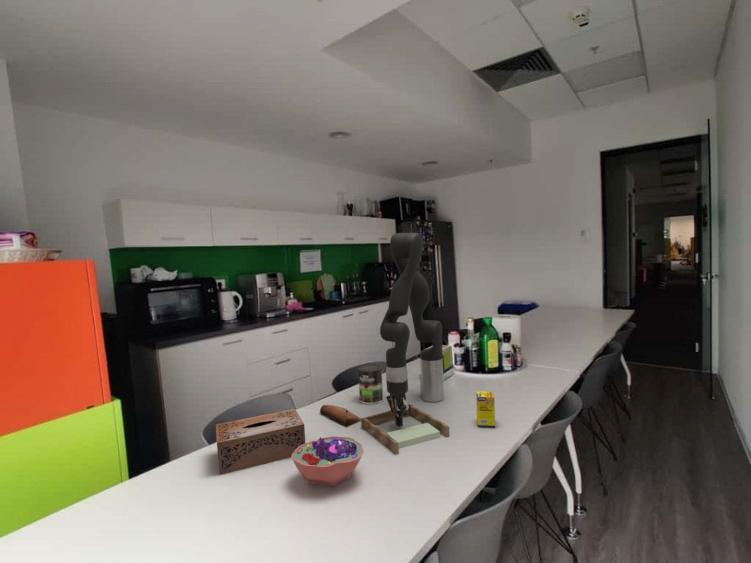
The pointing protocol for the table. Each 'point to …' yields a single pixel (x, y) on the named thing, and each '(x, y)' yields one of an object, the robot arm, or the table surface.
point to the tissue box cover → (258, 440)
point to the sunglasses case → (340, 414)
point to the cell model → (328, 459)
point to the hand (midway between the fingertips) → (399, 425)
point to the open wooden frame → (380, 418)
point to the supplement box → (485, 409)
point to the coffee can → (370, 384)
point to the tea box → (447, 361)
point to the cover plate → (414, 434)
